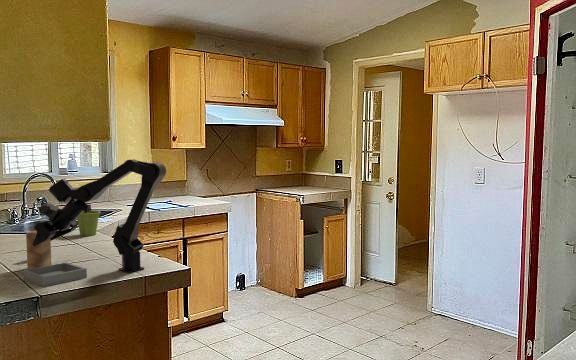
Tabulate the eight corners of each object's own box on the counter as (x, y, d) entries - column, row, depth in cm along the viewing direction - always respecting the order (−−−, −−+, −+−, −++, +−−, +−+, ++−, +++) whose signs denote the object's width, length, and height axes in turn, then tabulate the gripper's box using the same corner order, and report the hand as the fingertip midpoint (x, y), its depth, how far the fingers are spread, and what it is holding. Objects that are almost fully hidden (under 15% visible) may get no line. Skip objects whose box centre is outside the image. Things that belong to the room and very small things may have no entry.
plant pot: (86, 238, 232) (85, 214, 231) (69, 235, 238) (69, 212, 237) (106, 234, 242) (106, 211, 242) (90, 232, 248) (89, 209, 248)
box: (86, 277, 162) (86, 268, 161) (43, 286, 151) (42, 277, 151) (66, 270, 171) (66, 262, 170) (23, 279, 160) (23, 270, 160)
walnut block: (51, 266, 177) (50, 230, 177) (42, 270, 172) (40, 233, 171) (37, 265, 178) (35, 230, 177) (27, 269, 173) (26, 232, 172)
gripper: (68, 193, 182) (41, 222, 184) (38, 198, 163) (8, 230, 165) (89, 214, 182) (62, 243, 183) (61, 222, 163) (31, 254, 165)
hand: (41, 242), depth 174 cm, fingers open, 9 cm apart
